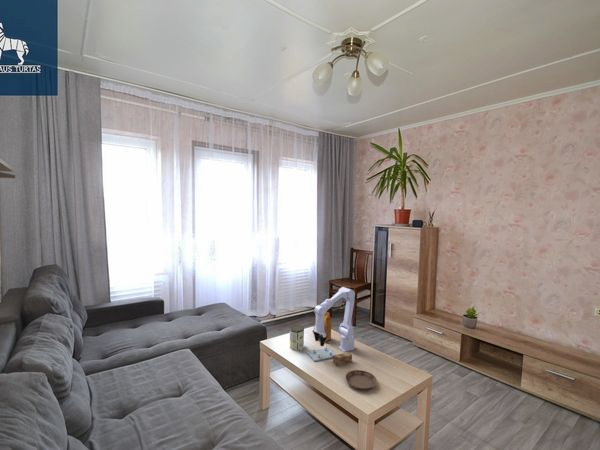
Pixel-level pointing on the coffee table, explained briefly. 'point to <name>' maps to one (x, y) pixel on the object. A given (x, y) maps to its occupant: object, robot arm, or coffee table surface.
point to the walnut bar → (342, 358)
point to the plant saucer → (361, 380)
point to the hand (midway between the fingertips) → (319, 343)
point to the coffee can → (296, 337)
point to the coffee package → (327, 326)
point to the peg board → (321, 354)
